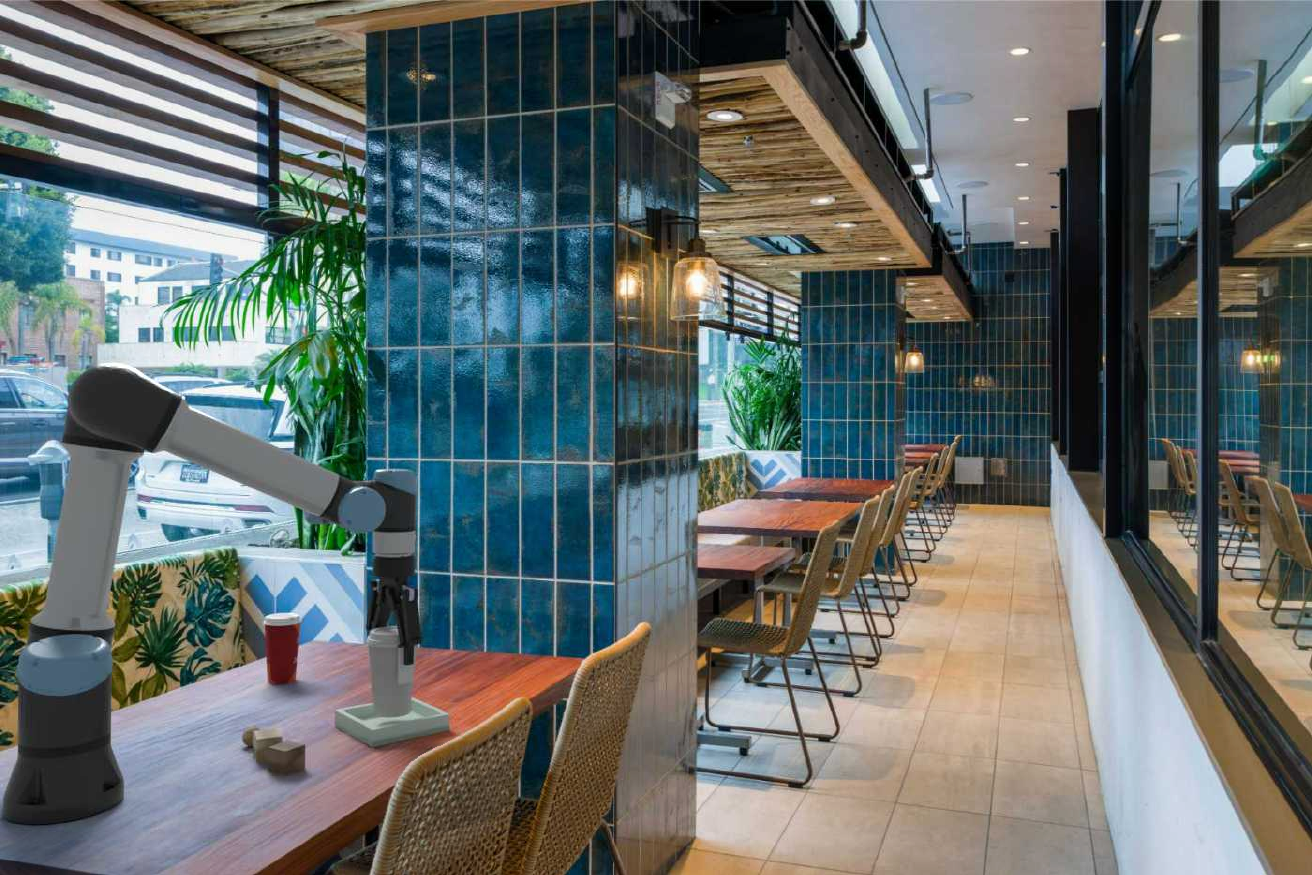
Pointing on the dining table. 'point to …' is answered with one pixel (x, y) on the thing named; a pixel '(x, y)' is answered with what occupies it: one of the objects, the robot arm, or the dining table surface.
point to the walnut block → (286, 758)
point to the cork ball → (249, 736)
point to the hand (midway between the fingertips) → (392, 676)
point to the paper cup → (282, 646)
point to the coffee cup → (387, 674)
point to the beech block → (265, 743)
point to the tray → (391, 723)
